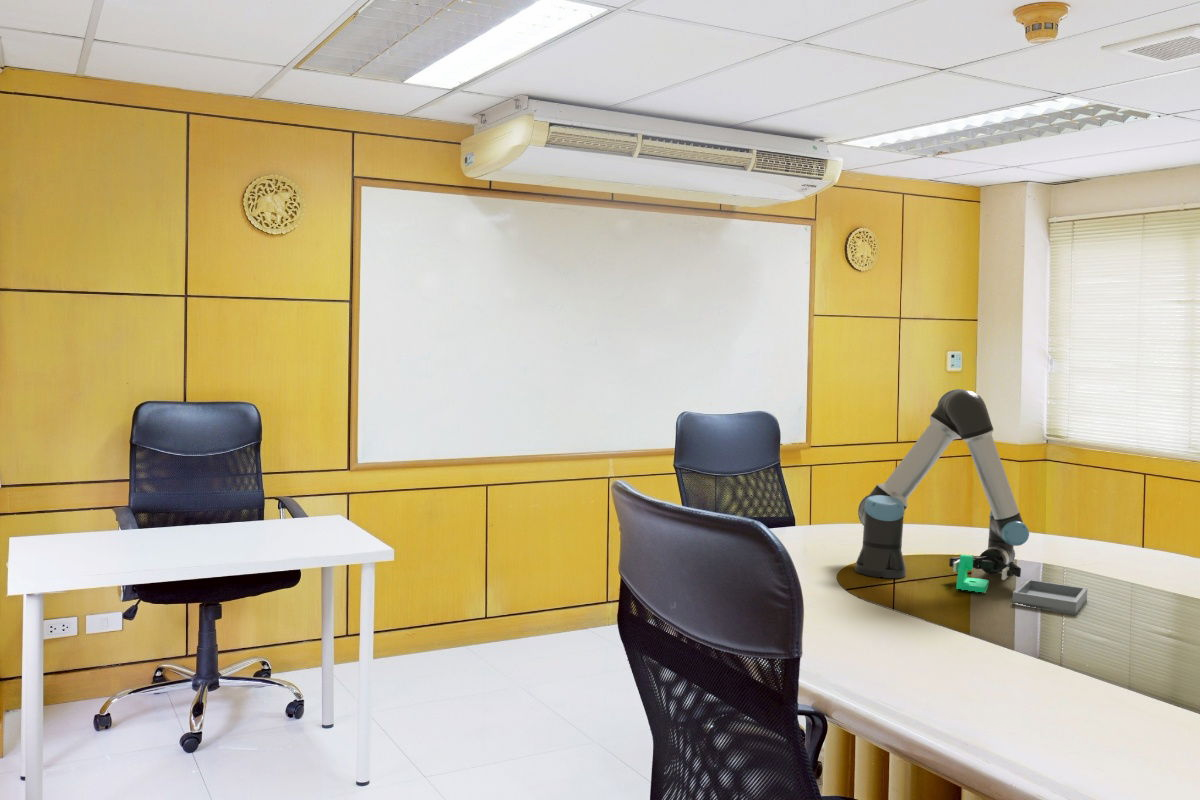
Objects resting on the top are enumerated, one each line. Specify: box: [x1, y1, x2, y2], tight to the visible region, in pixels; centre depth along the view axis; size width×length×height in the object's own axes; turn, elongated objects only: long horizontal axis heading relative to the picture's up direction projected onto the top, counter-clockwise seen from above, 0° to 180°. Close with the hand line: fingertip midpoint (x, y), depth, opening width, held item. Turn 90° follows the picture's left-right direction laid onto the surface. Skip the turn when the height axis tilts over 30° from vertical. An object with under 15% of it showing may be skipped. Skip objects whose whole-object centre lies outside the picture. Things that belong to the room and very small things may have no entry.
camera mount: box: [955, 553, 990, 594], centre depth 291 cm, size 12×8×10 cm, turn 153°
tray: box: [1011, 578, 1088, 616], centre depth 280 cm, size 16×22×4 cm
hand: (978, 571), depth 289 cm, fingers open, 13 cm apart
